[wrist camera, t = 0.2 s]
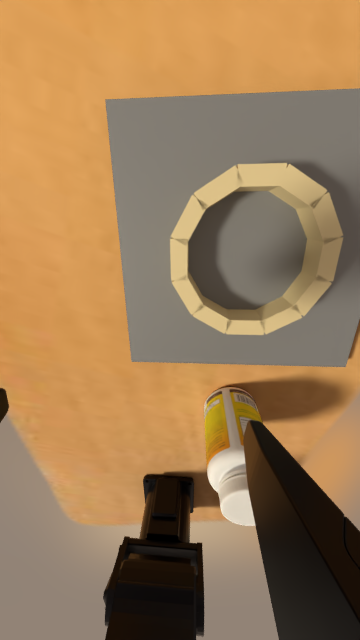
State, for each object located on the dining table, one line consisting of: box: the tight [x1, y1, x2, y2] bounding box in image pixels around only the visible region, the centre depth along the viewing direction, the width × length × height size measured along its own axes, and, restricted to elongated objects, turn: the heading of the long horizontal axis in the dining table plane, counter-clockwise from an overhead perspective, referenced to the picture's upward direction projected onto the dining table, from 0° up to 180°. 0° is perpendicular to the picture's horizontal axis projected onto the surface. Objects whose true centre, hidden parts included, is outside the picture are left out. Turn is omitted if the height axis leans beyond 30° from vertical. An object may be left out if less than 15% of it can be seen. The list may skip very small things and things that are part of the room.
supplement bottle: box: [204, 387, 263, 526], centre depth 21 cm, size 6×6×10 cm
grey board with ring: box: [106, 89, 360, 367], centre depth 18 cm, size 20×20×4 cm
